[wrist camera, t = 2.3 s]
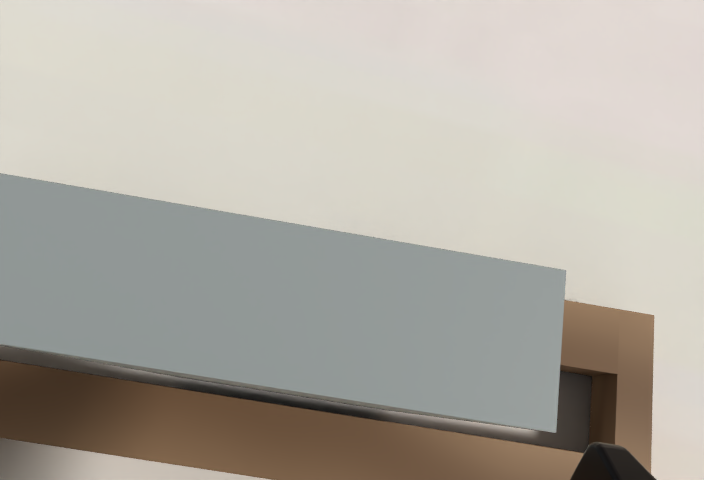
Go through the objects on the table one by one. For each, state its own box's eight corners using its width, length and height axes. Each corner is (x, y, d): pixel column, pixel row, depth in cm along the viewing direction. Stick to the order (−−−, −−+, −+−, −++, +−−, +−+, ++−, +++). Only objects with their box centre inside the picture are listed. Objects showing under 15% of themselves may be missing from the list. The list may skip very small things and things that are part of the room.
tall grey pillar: (385, 409, 17) (556, 433, 6) (176, 376, 17) (-84, 330, 6) (392, 354, 18) (566, 270, 6) (188, 320, 18) (-28, 168, 6)
